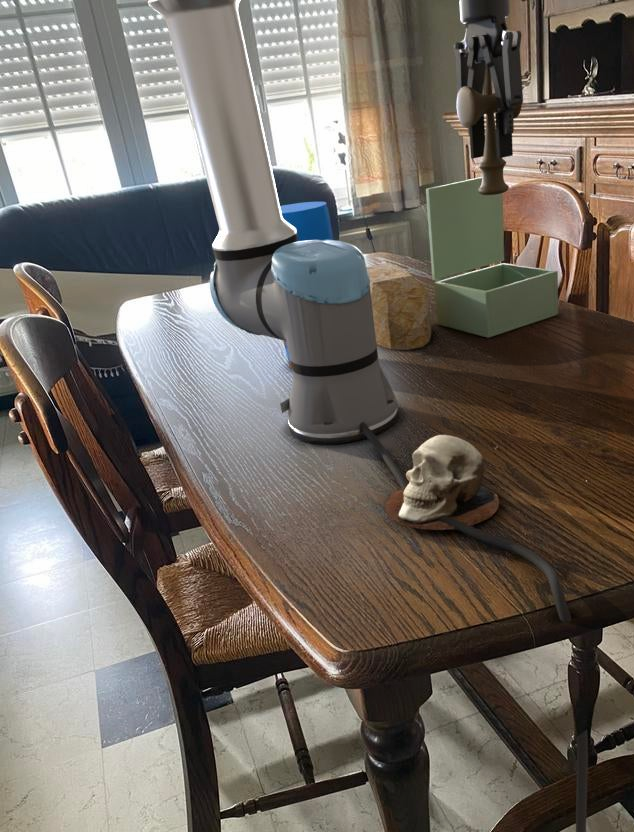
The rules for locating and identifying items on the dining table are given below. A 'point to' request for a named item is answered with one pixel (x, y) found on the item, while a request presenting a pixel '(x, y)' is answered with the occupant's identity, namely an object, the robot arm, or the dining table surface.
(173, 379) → the dining table surface
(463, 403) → the dining table surface
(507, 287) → the chest
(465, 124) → the kendama
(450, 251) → the chest lid
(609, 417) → the dining table surface
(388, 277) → the bread
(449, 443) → the skull
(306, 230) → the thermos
